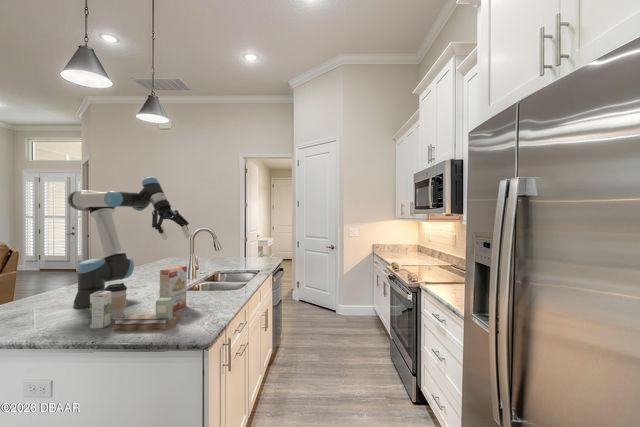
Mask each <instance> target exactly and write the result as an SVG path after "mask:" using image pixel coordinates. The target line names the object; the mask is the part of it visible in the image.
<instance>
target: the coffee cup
mask: <svg viewBox="0 0 640 427" xmlns="http://www.w3.org/2000/svg"><path fill="white" fill-rule="evenodd" d="M127 289H128V288H127V286H126V285H125V283H124V282H121V283H114V284H109V285H107V286H106V287H105V290H104V291H111V292H112V293H111V320H113V319H116V318H124V316H125V311H126V303H127V294H128V293H127Z"/></svg>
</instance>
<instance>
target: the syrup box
mask: <svg viewBox="0 0 640 427" xmlns="http://www.w3.org/2000/svg"><path fill="white" fill-rule="evenodd" d="M111 293H112V292H111V291H98V292H95V293H93V294H90V308H89V321H88V325H89V327H88V328H89V329H91V330H93V329H104V328H106V327H107V326H109V325H111V322H112V319H111Z"/></svg>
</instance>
